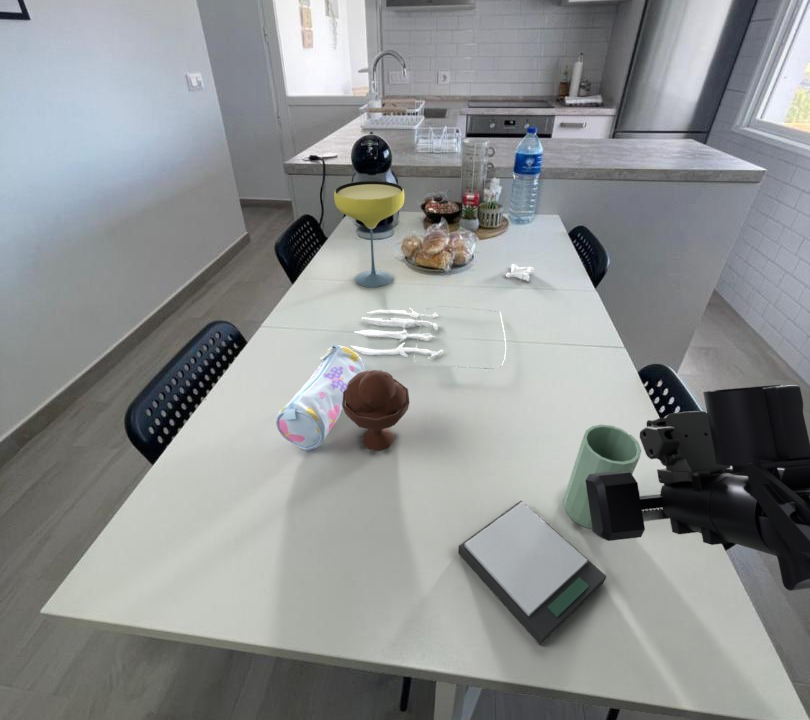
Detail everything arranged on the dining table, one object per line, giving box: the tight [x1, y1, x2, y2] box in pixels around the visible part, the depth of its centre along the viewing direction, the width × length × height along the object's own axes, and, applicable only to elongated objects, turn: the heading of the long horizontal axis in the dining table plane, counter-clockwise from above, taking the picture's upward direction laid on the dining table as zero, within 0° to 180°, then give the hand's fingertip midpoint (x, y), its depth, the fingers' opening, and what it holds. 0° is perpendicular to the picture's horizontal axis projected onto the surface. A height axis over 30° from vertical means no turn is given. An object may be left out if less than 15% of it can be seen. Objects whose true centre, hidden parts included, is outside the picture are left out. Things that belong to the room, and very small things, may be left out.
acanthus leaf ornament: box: [505, 263, 535, 282], centre depth 130 cm, size 8×7×2 cm
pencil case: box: [275, 344, 366, 451], centre depth 80 cm, size 21×9×10 cm, turn 164°
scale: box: [457, 500, 608, 646], centre depth 57 cm, size 14×12×2 cm
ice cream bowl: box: [342, 369, 410, 452], centre depth 73 cm, size 11×11×15 cm
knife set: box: [350, 305, 507, 370], centre depth 104 cm, size 26×35×1 cm
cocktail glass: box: [333, 180, 405, 288], centre depth 122 cm, size 18×18×25 cm
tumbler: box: [562, 424, 642, 530], centre depth 61 cm, size 7×7×14 cm
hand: (633, 487), depth 53 cm, fingers open, 9 cm apart
